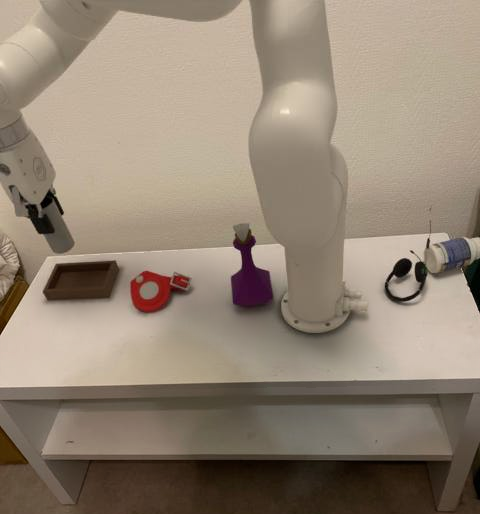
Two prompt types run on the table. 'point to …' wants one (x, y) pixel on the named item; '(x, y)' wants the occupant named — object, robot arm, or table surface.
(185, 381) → the table surface
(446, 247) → the pill bottle
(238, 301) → the perfume bottle
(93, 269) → the shelf tray
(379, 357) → the table surface
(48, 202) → the gray hollow tube
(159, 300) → the tracker holder
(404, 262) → the headset
